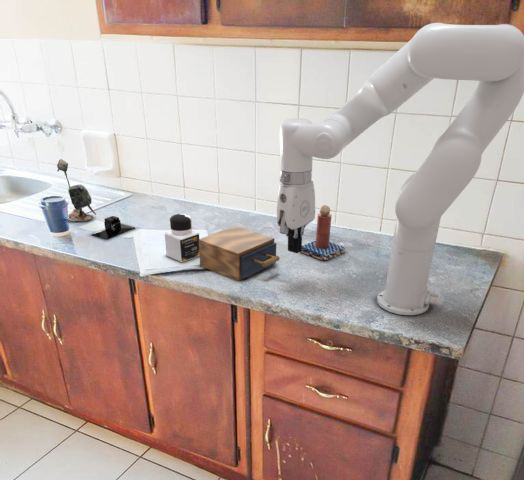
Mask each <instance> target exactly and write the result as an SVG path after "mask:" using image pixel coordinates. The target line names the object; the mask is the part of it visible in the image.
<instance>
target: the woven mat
mask: <svg viewBox="0 0 524 480" xmlns="http://www.w3.org/2000/svg"><path fill="white" fill-rule="evenodd" d="M315 244H316V240H313V241H311V242H308V243H306V244H304V245H303V244H302V251H301V252H300V253H302V254H304V255H307V256H312V257H313V258H314V259H318V260H320V261H329V259H332V258H337V256H340V255H341V254H345V252H346V251H345V250H346V249H345V246H343V245H339V244H336V243H334V242H331V241H329V247H328V248H317V247H316V246H315Z"/></svg>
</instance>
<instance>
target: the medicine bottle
mask: <svg viewBox="0 0 524 480" xmlns="http://www.w3.org/2000/svg"><path fill="white" fill-rule="evenodd" d="M192 219H193V218H192V216H191V215H189V214H186V213H177V214H173V215H171V216H170V218H169V223H170V224H169V226H170V230H169V231H166V232H164V242H165V253H166V256H167V257H169V258H170V259H173V260H176V261H178V262H180V263H185V262H188V261H190V260H193V259H196V258H198V257H200V256H199V239H200V232H198V231H195V230H194V229H193V222H192Z"/></svg>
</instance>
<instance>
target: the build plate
mask: <svg viewBox="0 0 524 480" xmlns="http://www.w3.org/2000/svg"><path fill="white" fill-rule="evenodd" d="M103 224H104V229H102V230H99V231H96V232H93V233H91V236H93V237H95V238H99V239H102V240H106V241H108V240H110V239H113V238H115V237H118V236H120V235H123V234H126V233H128V232H131V231H133V230H136V227H134V226H131V225H127V224H123V223H121V219H120V217H118V216H115V215H112V216H108V217H106V218H104V222H103Z"/></svg>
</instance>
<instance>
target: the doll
mask: <svg viewBox="0 0 524 480" xmlns="http://www.w3.org/2000/svg"><path fill="white" fill-rule="evenodd" d="M316 220H317V221H316V232H315V241H316V244H315V246H316V247H317V248H328V247H329V242H330V238H331V227H332V214H331V208H330V206H329V205H327V204H324V205H322V206H320V207H319V213H318V214H317V219H316Z"/></svg>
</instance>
